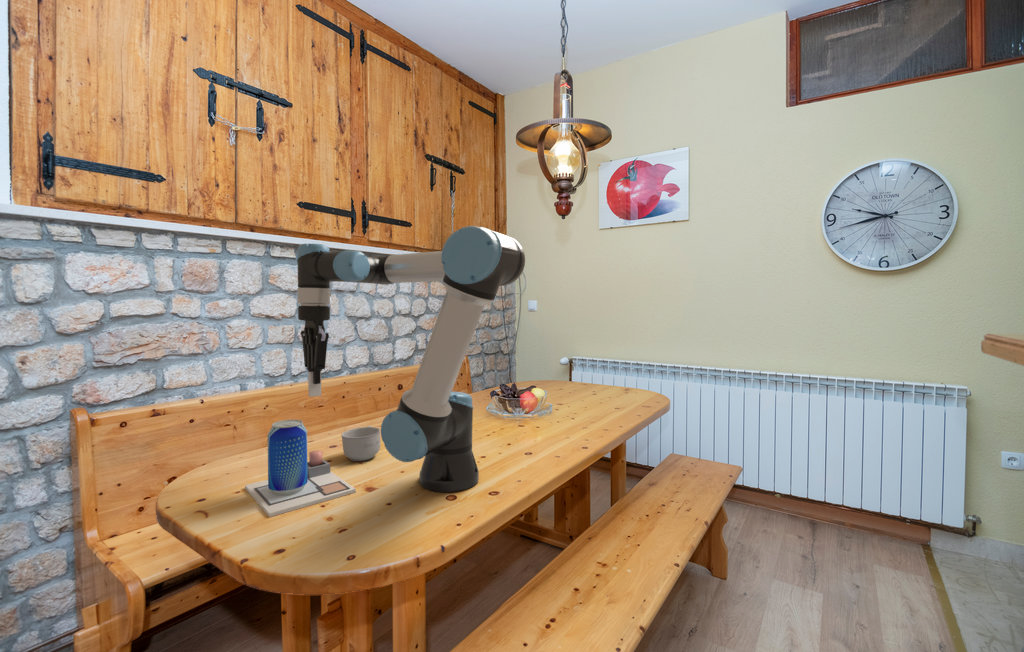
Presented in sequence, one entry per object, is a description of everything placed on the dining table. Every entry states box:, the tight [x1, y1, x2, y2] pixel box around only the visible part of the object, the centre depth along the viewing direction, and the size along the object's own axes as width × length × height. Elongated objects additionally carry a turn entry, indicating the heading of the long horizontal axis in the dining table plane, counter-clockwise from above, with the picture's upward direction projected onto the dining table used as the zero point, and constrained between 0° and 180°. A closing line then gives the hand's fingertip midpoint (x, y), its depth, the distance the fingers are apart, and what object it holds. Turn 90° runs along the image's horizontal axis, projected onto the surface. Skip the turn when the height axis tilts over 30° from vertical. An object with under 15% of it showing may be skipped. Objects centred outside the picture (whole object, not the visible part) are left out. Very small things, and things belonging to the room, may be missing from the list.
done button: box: [308, 449, 324, 466], centre depth 119 cm, size 3×3×3 cm
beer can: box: [267, 419, 308, 495], centre depth 107 cm, size 8×8×16 cm
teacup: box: [340, 425, 381, 462], centre depth 134 cm, size 14×11×8 cm
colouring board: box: [244, 458, 357, 518], centre depth 109 cm, size 20×19×3 cm
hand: (314, 395), depth 118 cm, fingers closed
